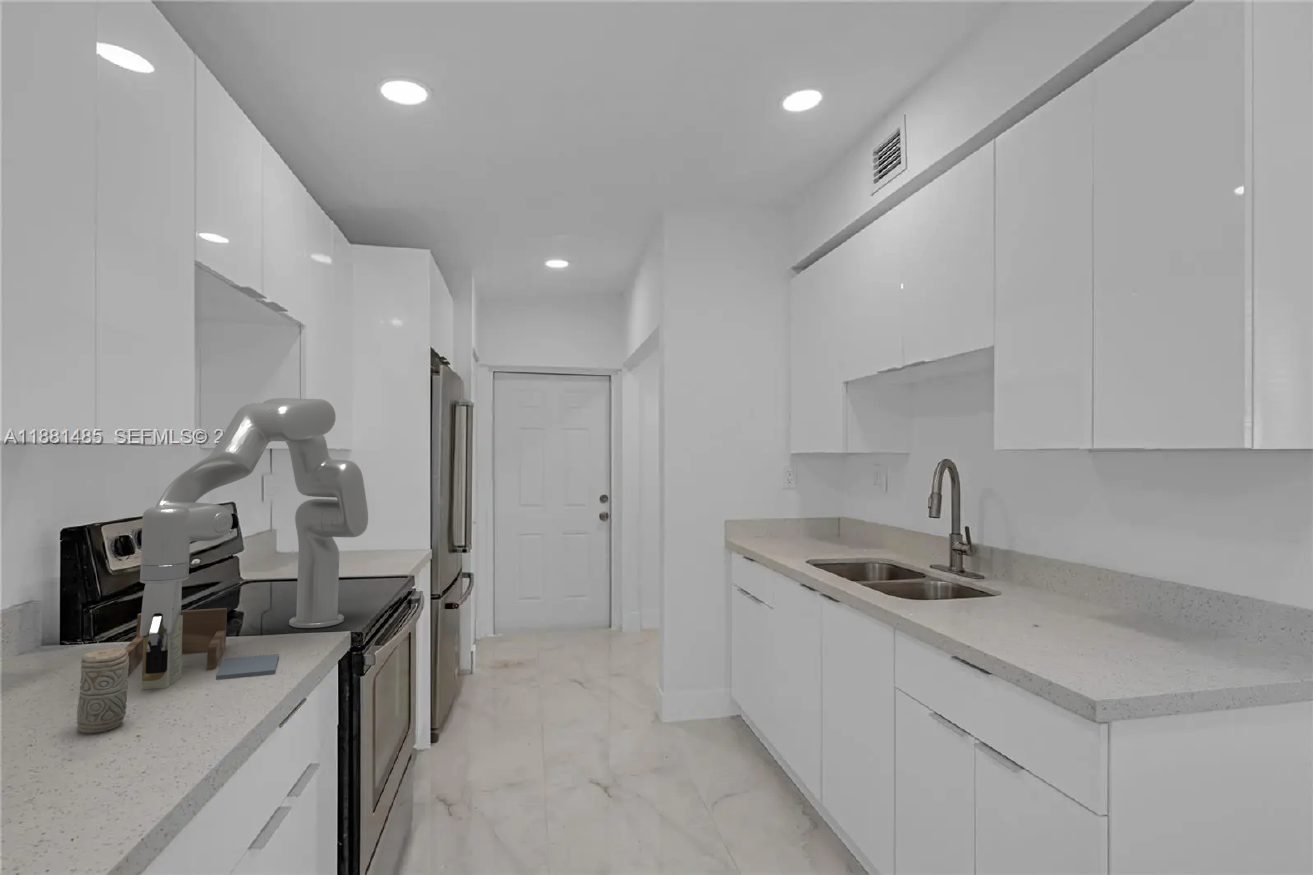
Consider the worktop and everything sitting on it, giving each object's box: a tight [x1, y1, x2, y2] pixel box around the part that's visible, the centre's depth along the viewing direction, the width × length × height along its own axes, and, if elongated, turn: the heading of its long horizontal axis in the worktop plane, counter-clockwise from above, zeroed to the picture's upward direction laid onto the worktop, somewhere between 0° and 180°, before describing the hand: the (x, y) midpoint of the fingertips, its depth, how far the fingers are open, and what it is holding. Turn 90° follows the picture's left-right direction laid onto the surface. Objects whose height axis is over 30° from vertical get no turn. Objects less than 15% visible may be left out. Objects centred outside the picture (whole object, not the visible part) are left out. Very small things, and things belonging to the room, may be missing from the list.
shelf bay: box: [124, 607, 228, 677], centre depth 145 cm, size 16×16×9 cm
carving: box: [76, 647, 129, 734], centre depth 112 cm, size 6×8×12 cm
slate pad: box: [215, 653, 280, 681], centre depth 143 cm, size 12×10×1 cm
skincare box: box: [141, 615, 183, 690], centre depth 132 cm, size 6×4×12 cm
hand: (161, 665), depth 132 cm, fingers open, 8 cm apart
